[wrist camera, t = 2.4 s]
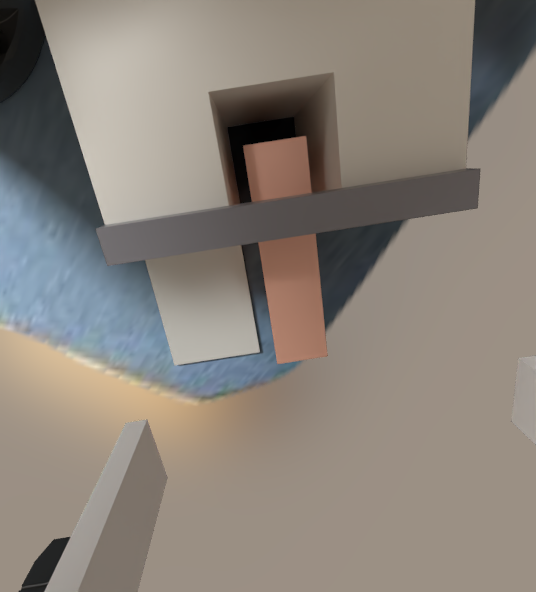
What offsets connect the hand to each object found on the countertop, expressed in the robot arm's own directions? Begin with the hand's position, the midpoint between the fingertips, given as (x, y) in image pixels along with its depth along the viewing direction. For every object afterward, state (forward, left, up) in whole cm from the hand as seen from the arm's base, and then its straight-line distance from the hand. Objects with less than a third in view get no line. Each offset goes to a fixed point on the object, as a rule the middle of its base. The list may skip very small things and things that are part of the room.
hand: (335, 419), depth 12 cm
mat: (-7, -2, -19) cm, 20 cm away
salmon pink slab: (0, +4, -19) cm, 19 cm away
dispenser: (0, +12, -19) cm, 22 cm away
